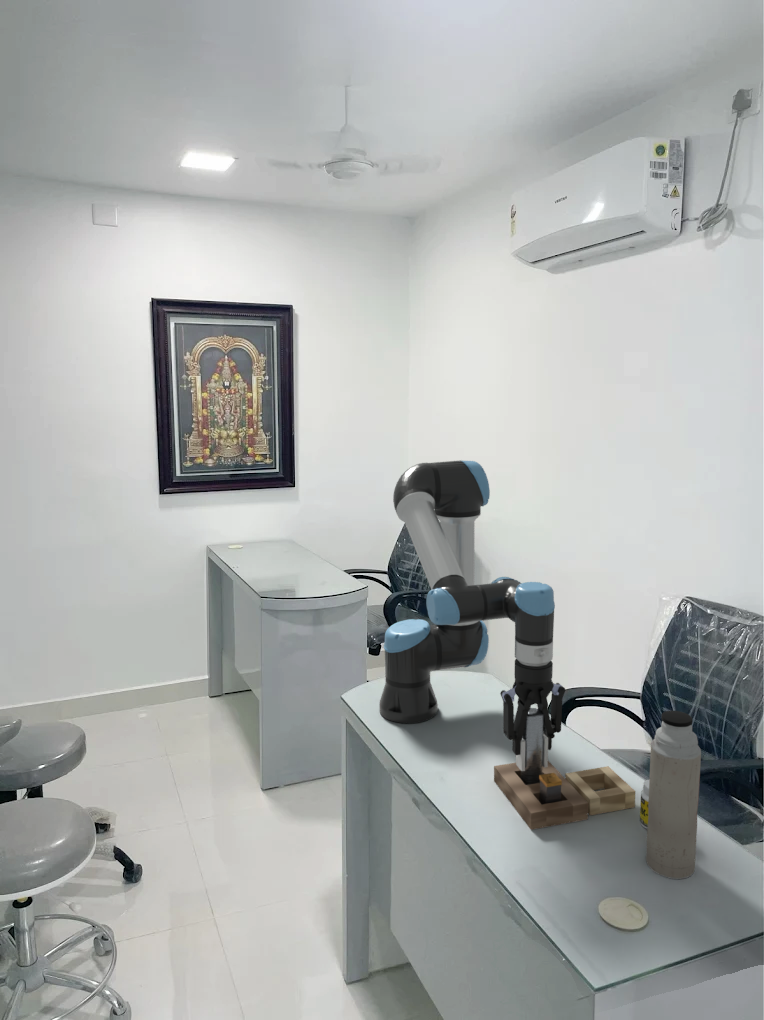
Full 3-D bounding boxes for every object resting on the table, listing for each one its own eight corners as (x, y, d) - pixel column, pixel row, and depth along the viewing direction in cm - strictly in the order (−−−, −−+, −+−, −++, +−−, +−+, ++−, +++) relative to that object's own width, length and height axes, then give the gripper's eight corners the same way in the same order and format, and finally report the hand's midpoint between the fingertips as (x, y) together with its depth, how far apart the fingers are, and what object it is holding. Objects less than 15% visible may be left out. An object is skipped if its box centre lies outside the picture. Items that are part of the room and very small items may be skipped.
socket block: (494, 781, 157) (494, 766, 157) (545, 772, 160) (545, 757, 160) (530, 829, 140) (531, 813, 140) (587, 819, 143) (588, 802, 142)
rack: (565, 788, 154) (565, 773, 153) (607, 781, 156) (608, 766, 155) (589, 815, 144) (590, 799, 144) (634, 807, 147) (635, 791, 146)
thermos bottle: (689, 852, 132) (697, 706, 127) (699, 881, 125) (707, 728, 120) (643, 847, 134) (649, 704, 129) (649, 876, 126) (656, 724, 121)
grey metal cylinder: (517, 780, 155) (518, 709, 152) (536, 776, 156) (537, 706, 153) (526, 791, 150) (527, 719, 147) (545, 788, 152) (547, 716, 148)
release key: (538, 806, 146) (539, 775, 145) (553, 803, 147) (554, 772, 146) (546, 815, 143) (546, 783, 142) (561, 812, 144) (561, 780, 143)
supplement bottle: (634, 821, 142) (635, 781, 141) (653, 814, 144) (654, 775, 142) (652, 834, 138) (654, 793, 136) (671, 828, 140) (673, 787, 138)
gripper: (500, 672, 142) (499, 781, 147) (582, 661, 146) (578, 768, 151) (486, 657, 149) (485, 762, 154) (564, 648, 154) (561, 750, 158)
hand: (531, 765), depth 152 cm, fingers closed on grey metal cylinder, 4 cm apart
